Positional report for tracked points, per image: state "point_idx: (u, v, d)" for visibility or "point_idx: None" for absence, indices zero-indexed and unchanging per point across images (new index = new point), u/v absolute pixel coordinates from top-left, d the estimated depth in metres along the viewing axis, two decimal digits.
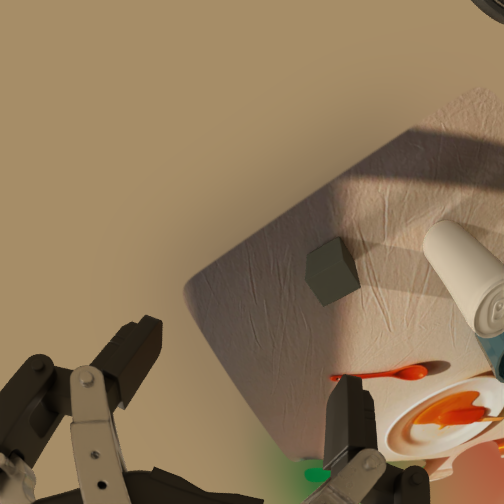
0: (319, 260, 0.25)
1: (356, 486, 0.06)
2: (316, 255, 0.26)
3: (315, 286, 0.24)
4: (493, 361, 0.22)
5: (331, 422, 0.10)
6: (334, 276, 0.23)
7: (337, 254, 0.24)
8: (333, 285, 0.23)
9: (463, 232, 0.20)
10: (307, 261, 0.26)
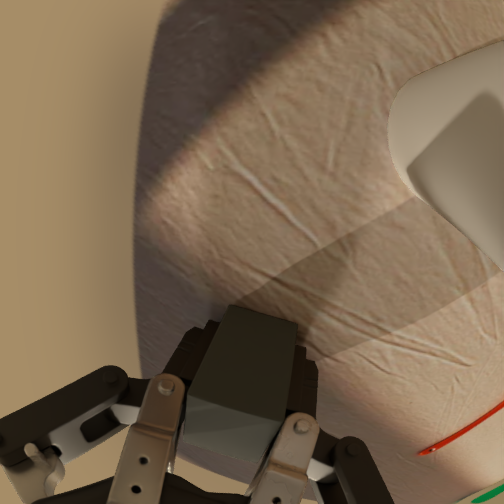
0: None
1: (297, 453, 0.07)
2: None
3: (206, 445, 0.09)
4: None
5: None
6: (210, 423, 0.08)
7: None
8: (229, 437, 0.09)
9: (454, 60, 0.04)
10: None
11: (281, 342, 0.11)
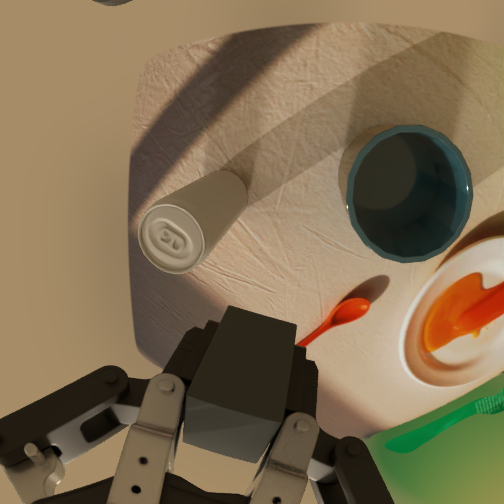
0: None
1: (297, 453, 0.07)
2: None
3: (205, 445, 0.09)
4: None
5: None
6: (209, 424, 0.08)
7: None
8: (228, 437, 0.09)
9: None
10: None
11: (280, 343, 0.11)
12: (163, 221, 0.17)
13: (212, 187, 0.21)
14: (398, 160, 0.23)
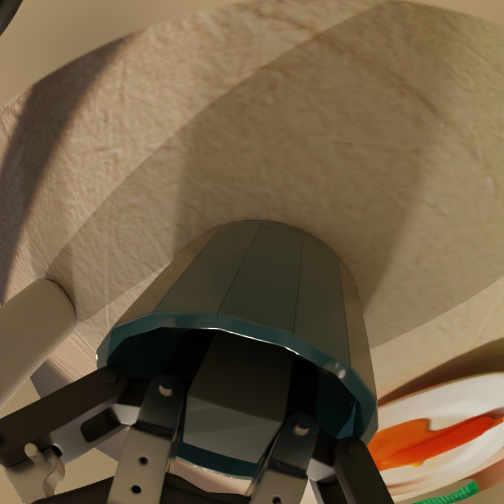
0: None
1: (297, 453, 0.07)
2: None
3: (206, 445, 0.09)
4: None
5: None
6: (210, 424, 0.08)
7: None
8: (228, 437, 0.09)
9: None
10: None
11: None
12: None
13: None
14: None
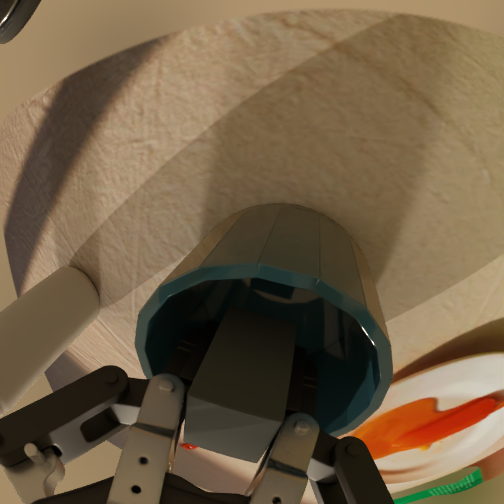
0: None
1: (297, 453, 0.07)
2: None
3: (206, 445, 0.09)
4: None
5: None
6: (210, 423, 0.09)
7: None
8: (228, 437, 0.09)
9: None
10: None
11: (281, 343, 0.11)
12: None
13: (19, 319, 0.13)
14: None
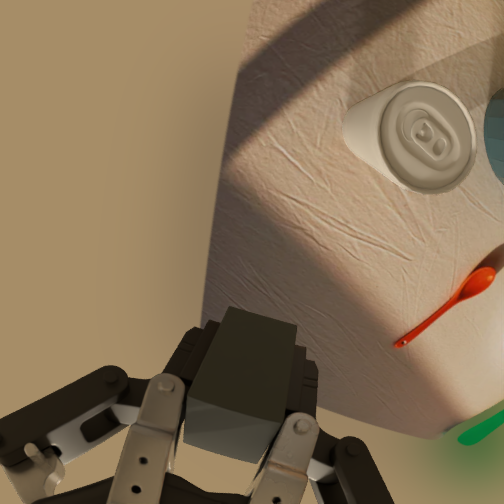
0: None
1: (297, 453, 0.07)
2: None
3: (206, 445, 0.09)
4: None
5: None
6: (210, 425, 0.09)
7: None
8: (229, 438, 0.09)
9: (360, 102, 0.16)
10: None
11: (280, 344, 0.11)
12: (423, 108, 0.09)
13: None
14: None
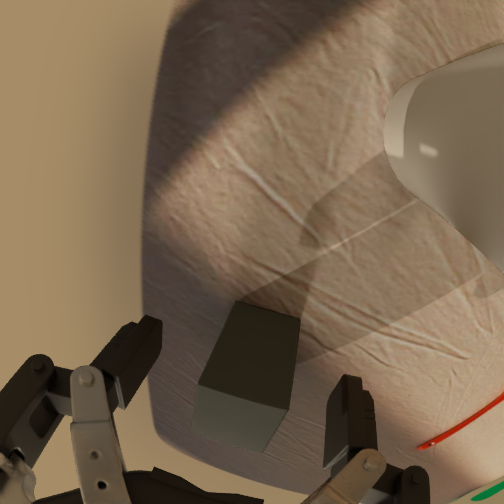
0: None
1: (356, 486, 0.06)
2: None
3: (213, 435, 0.10)
4: None
5: (331, 422, 0.10)
6: (218, 413, 0.09)
7: None
8: (236, 426, 0.09)
9: (443, 67, 0.05)
10: None
11: (285, 336, 0.12)
12: None
13: None
14: None
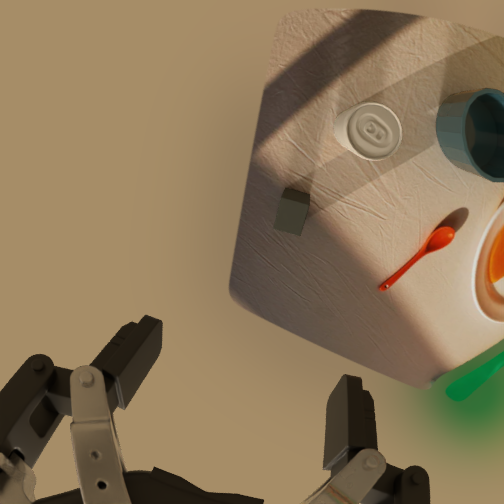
0: None
1: (356, 486, 0.06)
2: None
3: (282, 227, 0.31)
4: (475, 171, 0.23)
5: (331, 422, 0.10)
6: (286, 211, 0.31)
7: None
8: (291, 218, 0.31)
9: None
10: None
11: (305, 195, 0.33)
12: (370, 116, 0.19)
13: None
14: (474, 118, 0.25)
